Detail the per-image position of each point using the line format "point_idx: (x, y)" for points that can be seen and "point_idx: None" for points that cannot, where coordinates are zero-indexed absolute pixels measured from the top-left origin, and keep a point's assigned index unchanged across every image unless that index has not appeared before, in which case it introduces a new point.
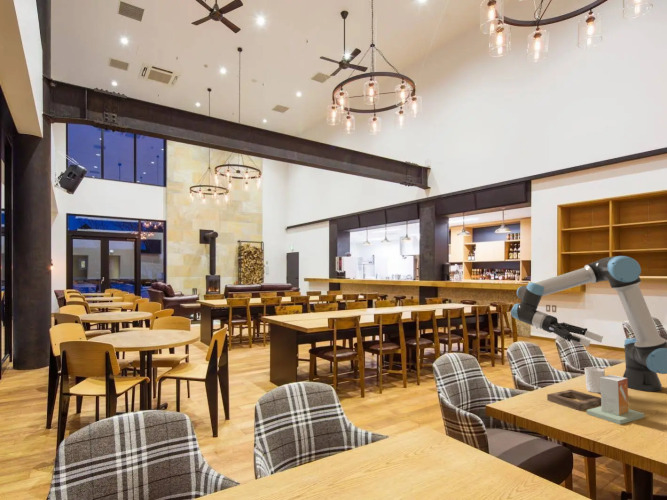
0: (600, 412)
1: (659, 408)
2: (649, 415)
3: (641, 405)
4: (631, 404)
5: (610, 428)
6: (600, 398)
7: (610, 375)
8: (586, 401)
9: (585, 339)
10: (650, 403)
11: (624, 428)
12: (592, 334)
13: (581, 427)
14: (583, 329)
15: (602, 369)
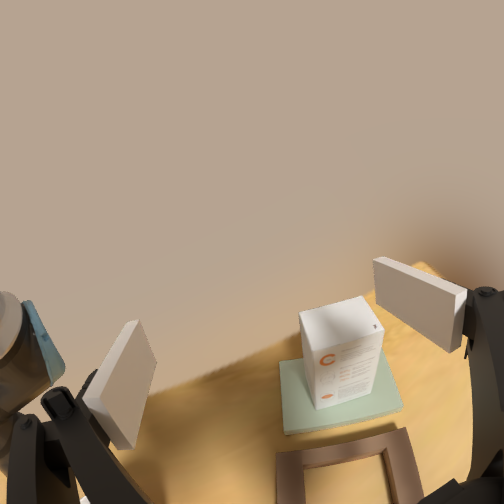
0: (381, 386)
1: (178, 387)
2: (254, 371)
3: (188, 414)
4: (201, 429)
5: (413, 337)
6: (284, 455)
7: (323, 341)
8: (360, 444)
9: (399, 264)
10: (152, 411)
11: (385, 334)
12: (125, 368)
13: (463, 345)
14: (68, 427)
15: (81, 501)
